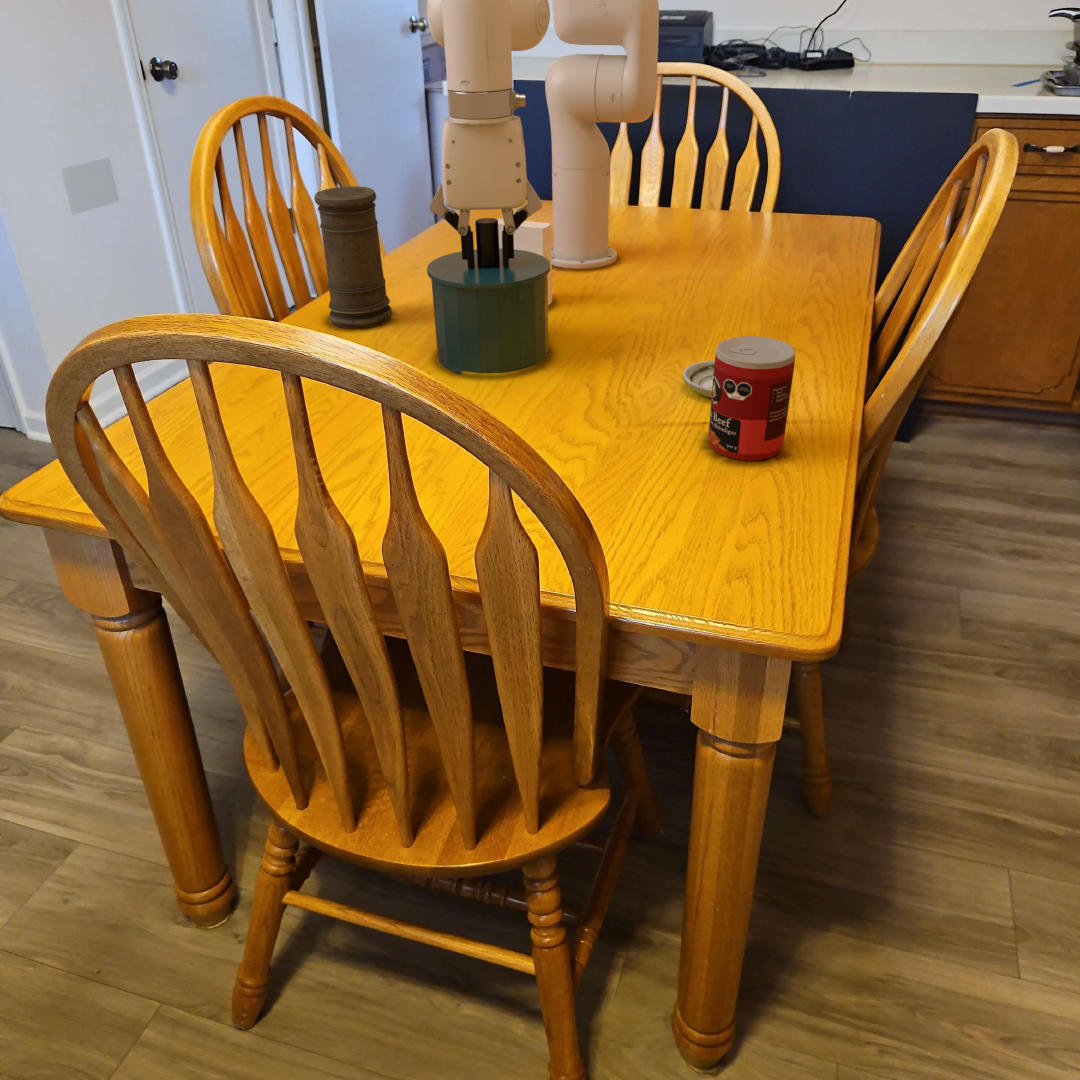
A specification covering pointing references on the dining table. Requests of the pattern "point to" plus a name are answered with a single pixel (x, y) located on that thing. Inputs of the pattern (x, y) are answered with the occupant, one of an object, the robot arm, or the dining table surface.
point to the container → (353, 257)
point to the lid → (488, 264)
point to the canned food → (750, 397)
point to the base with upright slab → (533, 242)
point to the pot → (491, 327)
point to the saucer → (700, 377)
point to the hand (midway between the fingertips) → (488, 263)
